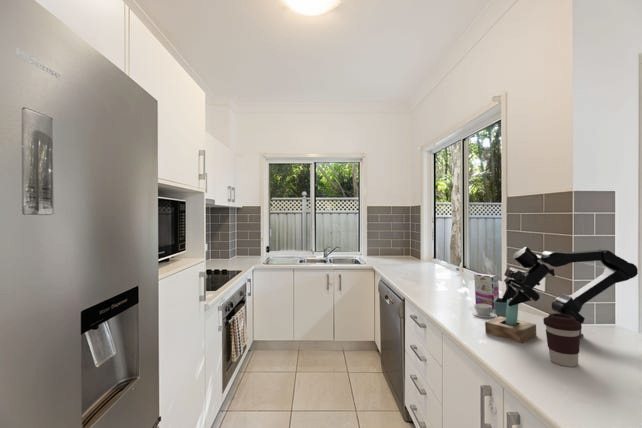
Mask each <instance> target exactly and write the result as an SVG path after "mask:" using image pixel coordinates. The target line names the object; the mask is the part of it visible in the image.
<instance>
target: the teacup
mask: <svg viewBox="0 0 642 428" xmlns="http://www.w3.org/2000/svg"><path fill="white" fill-rule="evenodd" d="M474 309H475V311H473V312H472V315H473V316H476V317H478V318H479V317H480V318H495V317H496V313H495V314H494V313H493V312H492V310H493V308H492V306H491V305H488V304H476V303H475V304H474Z"/></svg>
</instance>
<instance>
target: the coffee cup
mask: <svg viewBox="0 0 642 428" xmlns="http://www.w3.org/2000/svg"><path fill="white" fill-rule="evenodd" d="M543 325H545V327H546V329H545V335H546V342H547V348H548V352H549V353H548V354H549V359H550V361H551V362H553V364H557V365H559V366H563V367H569V368H570V367H571V368H574V367H578V365H579V353H580V346H581V345H580V344H581V338H580V334H579V330H581V331H582V330H583V329H582V327H583V326H582V325H583V323H580V322H578V321H576V319H575V318H574V317H573V316H570V315H566V314H559V313H553V312H552V313H549V315H548V316H546V317H545V316H544V318H543Z"/></svg>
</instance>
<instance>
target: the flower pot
mask: <svg viewBox="0 0 642 428" xmlns="http://www.w3.org/2000/svg"><path fill="white" fill-rule="evenodd" d="M501 299H502V297H499V298H496V300H495V301H494V306H495V308H494V311H495V316H496V317H499V316H502V317H506V309H507V301H505V302H503V301H501Z"/></svg>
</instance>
